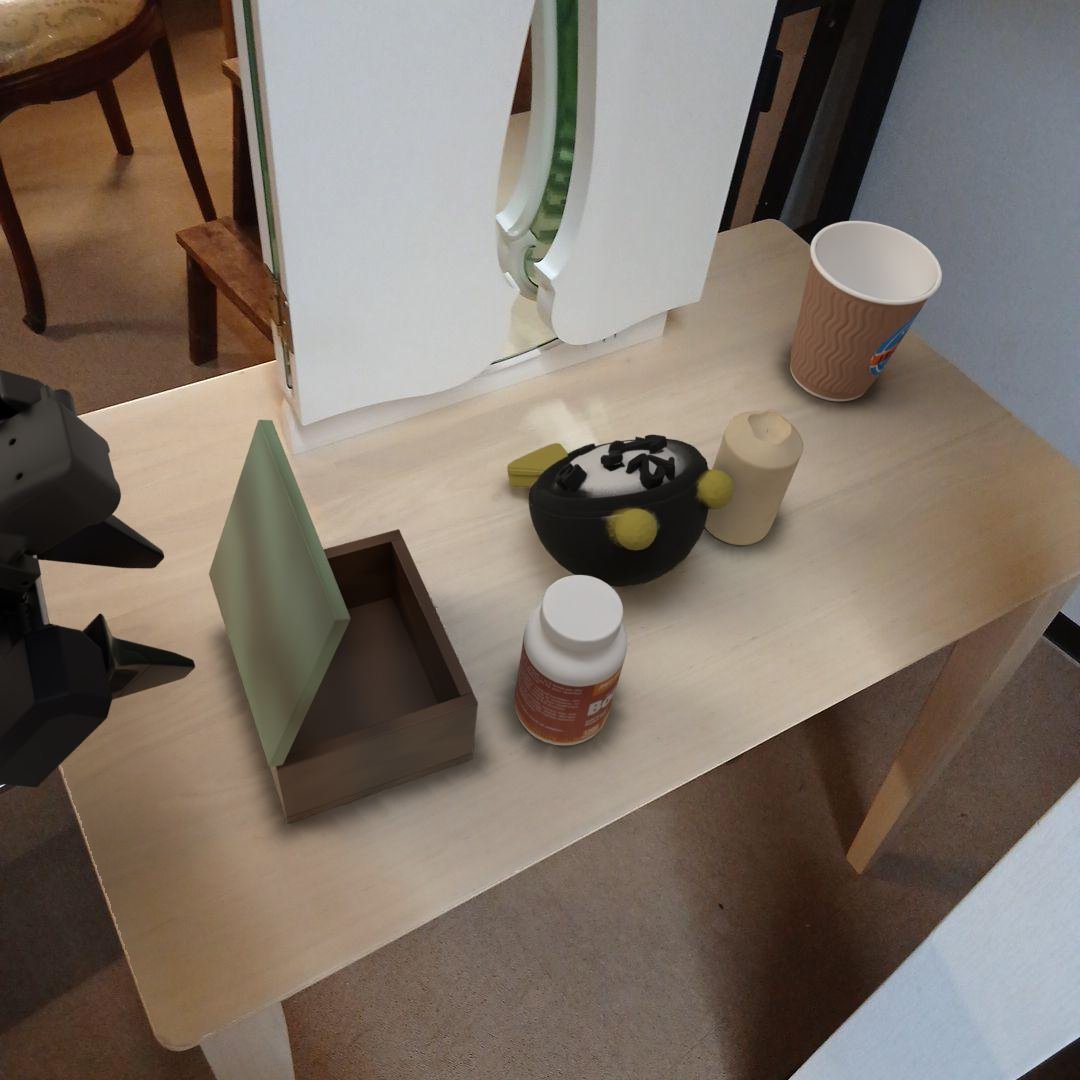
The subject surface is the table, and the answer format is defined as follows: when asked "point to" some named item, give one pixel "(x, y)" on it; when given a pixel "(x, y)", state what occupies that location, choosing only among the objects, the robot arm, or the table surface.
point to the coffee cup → (858, 305)
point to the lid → (276, 594)
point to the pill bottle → (571, 661)
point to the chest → (379, 688)
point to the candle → (754, 474)
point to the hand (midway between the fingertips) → (174, 612)
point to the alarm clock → (620, 505)
